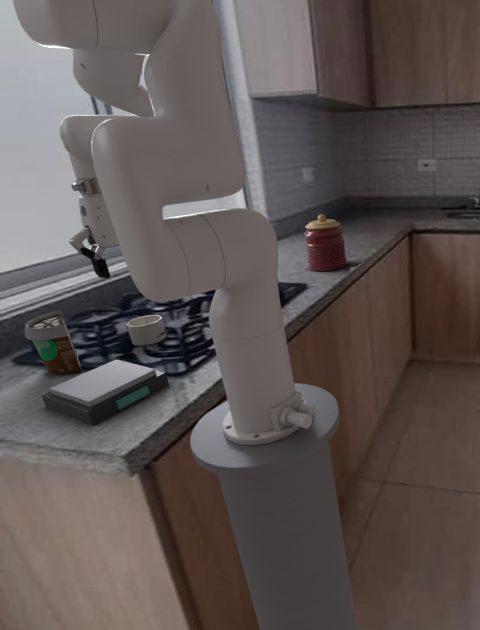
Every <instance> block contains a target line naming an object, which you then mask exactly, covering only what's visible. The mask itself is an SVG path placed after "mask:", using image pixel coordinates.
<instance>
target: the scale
mask: <svg viewBox="0 0 480 630" xmlns="http://www.w3.org/2000/svg"><path fill="white" fill-rule="evenodd" d="M169 386H170V383H169V380H168V376H167V373H166V372H165V371H160V370H157V369H155V368H152V367H148V366H144V365H140V364H136V363H132V362H129V361H125V360H120V359H114V360H112V361H110V362H107V363H105V364H103V365H100V366H98V367H96V368H94V369H90V370H89V371H86V372H83V373H82V374H79V375H77V376H75V377H72V378H71V379H68V380H66V381H63V382H61V383H59V384H57V385H54V386H52V387H50V388H49V392H46V393H45V394H41V399H42V401H43V403H44V405H45V408H46V409H47V410H50V411H51V412H55V413H57V414H61V415H63V416H67V417H69V418H71V419H73V420H74V419H75V420H77V421H80V422H83V423H85V424H88V425H90V426H95V425H97V424H99V423H100V422H102V421H105V420H107V419H108V418H110V417H112V416H113V415H116V414H118V413H120V412H121V411H123V410H125V409H127V408H128V407H131V406H133V405H135V404H137V403H138V402H140V401H141V400H144V399H145V398H148V397H150V396H151V395H153V394H156V393H157V392H159V391H160V390H162V389H165V388H166V387H169Z"/></svg>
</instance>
